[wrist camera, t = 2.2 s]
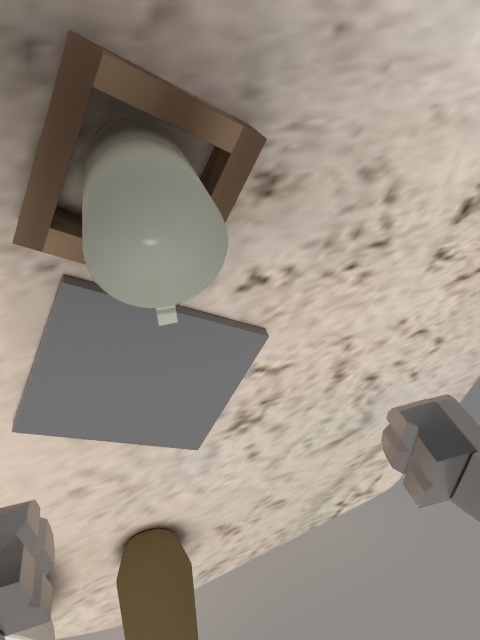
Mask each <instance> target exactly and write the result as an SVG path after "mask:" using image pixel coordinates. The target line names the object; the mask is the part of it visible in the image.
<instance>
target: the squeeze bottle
mask: <svg viewBox="0 0 480 640" xmlns="http://www.w3.org/2000/svg"><path fill="white" fill-rule="evenodd" d="M117 590H118V597H119V603H120V609H121V616H122V622H123V628H124V634H125V640H198V631H197V620H196V609H195V598H194V587H193V576H192V565H191V562H190V560H189V558H188V556H187V554H186V553H185V551H184V549H183V547H182V545H181V544H180V542H179V540H178V538H177V536H176V535H175V534H174V532H172V531H169V530H167V529H154V530H149V531H145V532H143V533H140V534H138V535H136V536H135V537H133V538H132V539H130V540H129V541H128V543H127V544H126V545H125V548H124V552H123V556H122V560H121V564H120V568H119V572H118V576H117Z"/></svg>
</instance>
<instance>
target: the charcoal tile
mask: <svg viewBox="0 0 480 640" xmlns="http://www.w3.org/2000/svg"><path fill="white" fill-rule="evenodd" d="M175 307H176V314H177V321H178V322H177V323H172V324H166V325H161V326H159V324H158V319H157V315H156V310H155V308H143V307H137V306H133V305H130V304H126V303H124V302H122V301H119V300H117V299H115V298H114V297H112V296H111V295H109V294H108V293H107V292H105V291H104V290H103V289H102V288H101V287H100V286H99V285H98V284H95V283H92V282H88V281H84V280H80V279H77V278H73V277H69V276H66V275H63V277H62V280H61V283H60V286H59V289H58V292H57V295H56V298H55V301H54V304H53V306H52V309H51V312H50V315H49V318H48V321H47V324H46V327H45V330H44V333H43V336H42V339H41V342H40V345H39V348H38V351H37V354H36V357H35V360H34V363H33V366H32V369H31V371H30V374H29V377H28V380H27V383H26V386H25V389H24V392H23V395H22V398H21V401H20V404H19V407H18V410H17V413H16V416H15V419H14V422H13V427H12V432H16V433H26V434H37V435H47V436H57V437H67V438H78V439H88V440H98V441H108V442H118V443H129V444H139V445H149V446H159V447H169V448H180V449H190V450H198V449H199V448H200V446H201V444H202V443H203V441H204V440H205V438H206V436H207V435H208V433H209V432H210V430H211V428H212V427H213V425H214V424H215V422H216V420H217V419H218V417H219V416H220V414H221V412H222V411H223V409H224V408H225V406H226V404H227V403H228V401H229V400H230V398H231V396H232V395H233V393H234V392H235V390H236V388H237V387H238V385H239V384H240V382H241V380H242V379H243V377H244V376H245V374H246V372H247V371H248V369H249V368H250V366H251V364H252V363H253V361H254V360H255V358H256V356H257V355H258V353H259V352H260V350H261V348H262V347H263V345H264V344H265V342H266V340H267V339H268V337H269V335H268V333H267V332H266V330H265V329H263V328H260V327H256V326H252V325H248V324H245V323H241V322H237V321H233V320H230V319H226V318H222V317H219V316H215V315H211V314H207V313H204V312H200V311H196V310H192V309H189V308H185V307H181V306H177V305H175Z"/></svg>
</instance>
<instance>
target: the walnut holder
mask: <svg viewBox="0 0 480 640" xmlns="http://www.w3.org/2000/svg"><path fill="white" fill-rule="evenodd" d="M93 87H94V88H96V89H98V90H100V91H102V92H104V93H106V94H108V95H110V96H112V97H115V98H117V99H119V100H121V101H123V102H125V103H127V104H129V105H131V106H133V107H135V108H137V109H140V110H142V111H144V112H146V113H148V114H150V115H152V116H154V117H156V118H158V119H160V120H162V121H165V122H167V123H169V124H171V125H173V126H175V127H177V128H179V129H181V130H183V131H185V132H187V133H190V134H192V135H194V136H196V137H198V138H200V139H202V140H204V141H206V142H208V143H210V144H213V145H215V147H214V150H213V152H212V154H211V156H210V159H209V161H208V163H207V165H206V167H205V170H204V172H203V174H202V176H201V179H200V181H201V182H202V184H203V185H204V187H205V189H206V190H207V192H208V193H209V195H210V197H211V198H212V200H213V201H214V203H215V205H216V206H217V208H218V210H219V211H220V213H221V215H222V217H223V219H224V222H226V220H227V218H228V216H229V214H230V212H231V210H232V208H233V206H234V204H235V202H236V200H237V198H238V196H239V194H240V192H241V190H242V188H243V186H244V184H245V182H246V180H247V178H248V176H249V174H250V172H251V170H252V168H253V166H254V164H255V162H256V160H257V158H258V156H259V154H260V152H261V150H262V148H263V146H264V144H265V142H266V140H267V139H266V138H265V137H264V136H263V135H261V134H260V133H259V132H258V131H256V130H255V129H254V128H253V127H251V126H250V125H248V124H246V123H244V122H242V121H240V120H239V119H237V118H235V117H233V116H231V115H229V114H227V113H225V112H223V111H222V110H220V109H218V108H216V107H214V106H212V105H210V104H208V103H206V102H204V101H203V100H201V99H199V98H197V97H195V96H193V95H191V94H189V93H187V92H186V91H184V90H182V89H180V88H178V87H176V86H174V85H172V84H170V83H168V82H167V81H165V80H163V79H161V78H159V77H157V76H155V75H153V74H151V73H150V72H148V71H146V70H144V69H142V68H140V67H138V66H136V65H134V64H132V63H131V62H129V61H127V60H125V59H123V58H121V57H119V56H117V55H115V54H114V53H112V52H110V51H108V50H106V49H104V48H102V47H100V46H98V45H97V44H95V43H93V42H91V41H89V40H87V39H85V38H83V37H81V36H79V35H78V34H76V33H74V32H72V31H70V32H69V35H68V39H67V43H66V46H65V50H64V54H63V57H62V61H61V65H60V69H59V72H58V76H57V80H56V83H55V87H54V91H53V95H52V98H51V102H50V106H49V109H48V113H47V117H46V121H45V124H44V128H43V132H42V135H41V139H40V143H39V147H38V150H37V154H36V158H35V162H34V165H33V169H32V173H31V176H30V180H29V184H28V188H27V191H26V195H25V199H24V202H23V206H22V210H21V214H20V217H19V221H18V225H17V228H16V232H15V236H14V240H13V244H17V245H20V246H24V247H27V248H31V249H34V250H38V251H41V252H45V253H48V254H52V255H55V256H59V257H62V258H66V259H69V260H73V261H76V262H80V263H83V264H86V263H85V260H84V255H83V246H82V217H81V216H78V215H75V214H72V213H69V212H66V211H63V210H60V209H57V208H56V205H57V202H58V199H59V196H60V192H61V189H62V186H63V183H64V179H65V176H66V173H67V169H68V166H69V163H70V160H71V156H72V153H73V150H74V147H75V143H76V140H77V137H78V133H79V130H80V127H81V124H82V120H83V117H84V114H85V111H86V107H87V104H88V101H89V97H90V94H91V91H92V88H93Z"/></svg>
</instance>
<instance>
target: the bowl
mask: <svg viewBox="0 0 480 640" xmlns="http://www.w3.org/2000/svg"><path fill="white" fill-rule="evenodd" d="M4 638H5V640H55V633H54V626H53V623H52V620H51V617H50V622H47V623H44V624H41V625H39V626H36V627H33V628H30V629H27V630H24V631H21V632H18V633H15V634H12V635H9V636H6V637H4Z"/></svg>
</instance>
